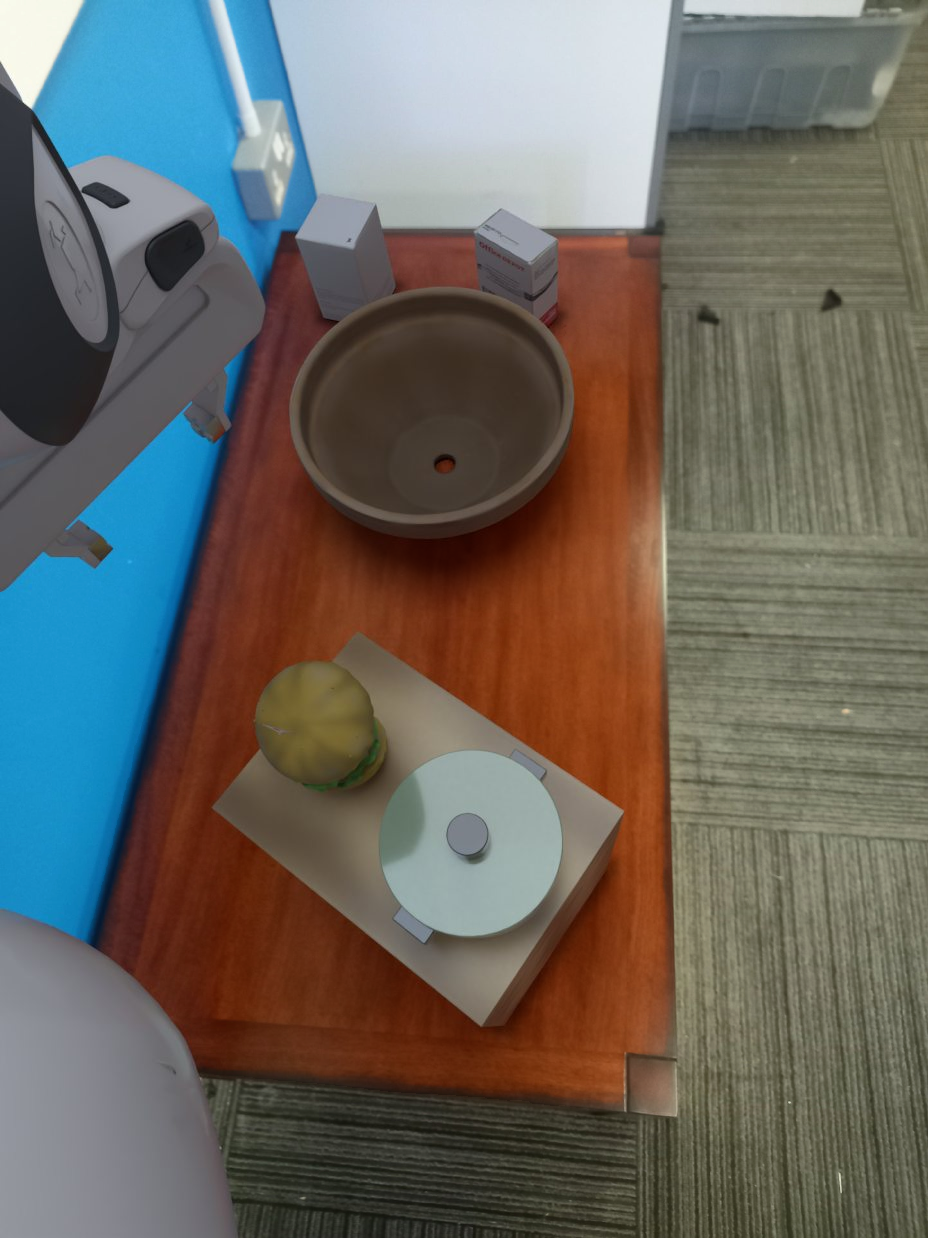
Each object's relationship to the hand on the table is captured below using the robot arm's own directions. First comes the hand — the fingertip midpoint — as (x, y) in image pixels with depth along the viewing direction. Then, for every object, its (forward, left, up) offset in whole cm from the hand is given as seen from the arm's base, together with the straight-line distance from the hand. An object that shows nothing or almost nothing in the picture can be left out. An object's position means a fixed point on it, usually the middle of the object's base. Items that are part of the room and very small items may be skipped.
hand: (156, 490), depth 49 cm
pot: (-4, -23, -19) cm, 30 cm away
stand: (-4, -18, -43) cm, 47 cm away
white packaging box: (+44, +33, -43) cm, 70 cm away
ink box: (+53, +15, -43) cm, 70 cm away
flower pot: (+30, +9, -43) cm, 53 cm away
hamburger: (-4, -11, -19) cm, 23 cm away
